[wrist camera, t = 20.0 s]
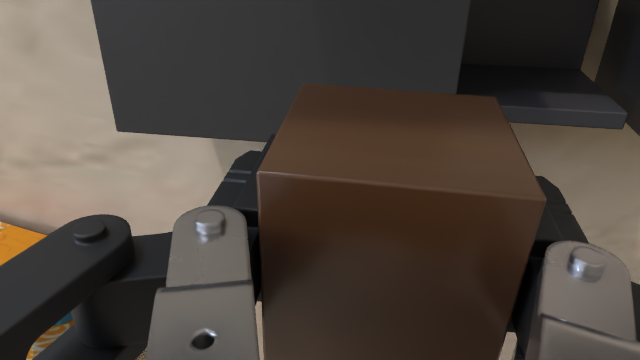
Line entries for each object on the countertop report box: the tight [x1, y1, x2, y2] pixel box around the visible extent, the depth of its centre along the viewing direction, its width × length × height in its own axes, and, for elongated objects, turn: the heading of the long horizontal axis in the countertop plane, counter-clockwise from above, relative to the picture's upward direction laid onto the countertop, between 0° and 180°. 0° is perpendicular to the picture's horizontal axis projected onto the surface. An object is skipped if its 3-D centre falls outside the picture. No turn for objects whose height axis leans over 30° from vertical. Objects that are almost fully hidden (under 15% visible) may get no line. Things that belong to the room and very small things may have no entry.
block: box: [256, 83, 546, 360], centre depth 11 cm, size 4×4×4 cm
